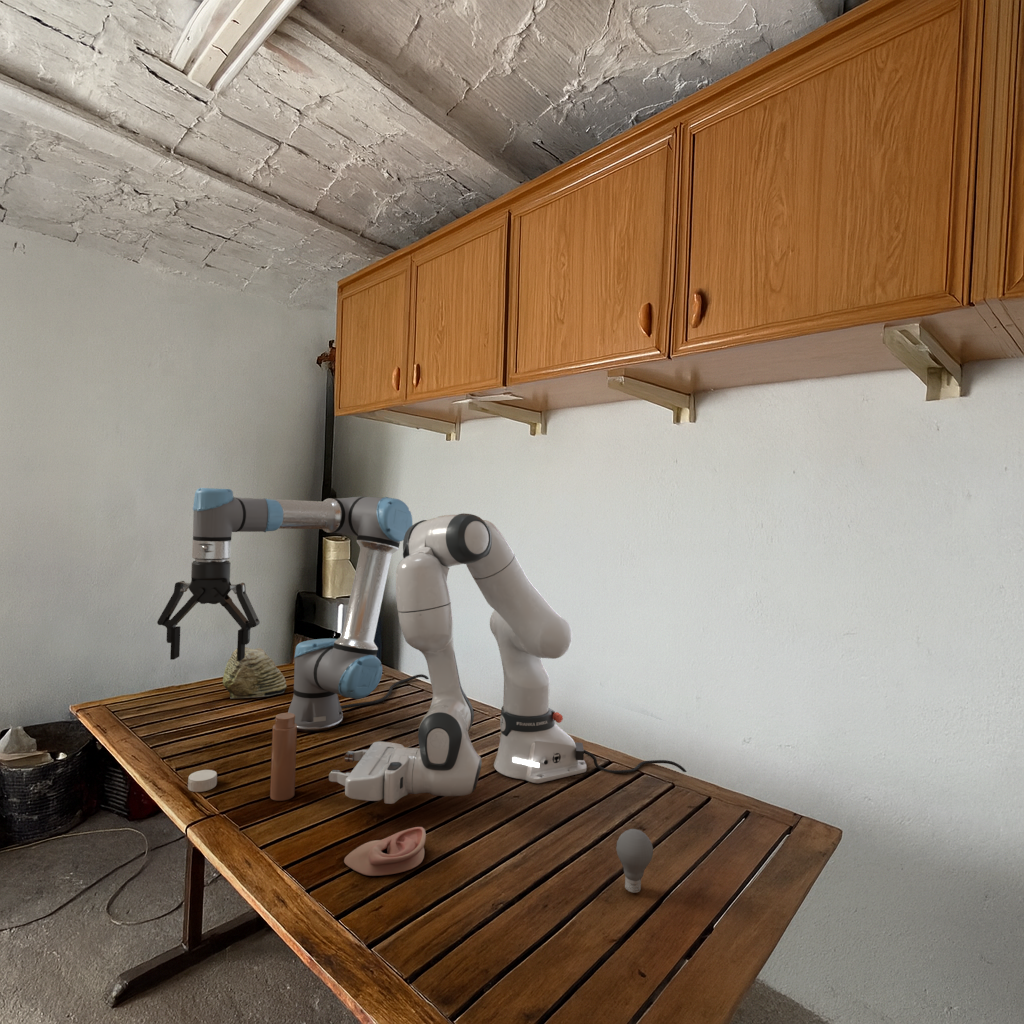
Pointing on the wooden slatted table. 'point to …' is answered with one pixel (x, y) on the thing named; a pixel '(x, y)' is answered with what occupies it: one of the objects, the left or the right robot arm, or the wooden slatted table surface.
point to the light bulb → (634, 857)
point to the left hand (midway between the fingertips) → (208, 658)
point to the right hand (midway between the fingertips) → (338, 765)
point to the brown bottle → (283, 757)
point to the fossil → (253, 675)
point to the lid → (202, 780)
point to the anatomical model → (389, 853)
